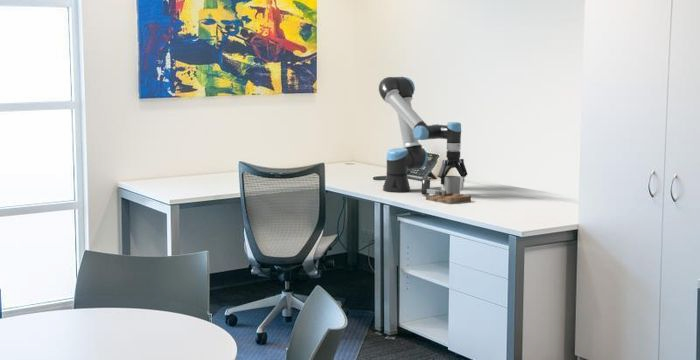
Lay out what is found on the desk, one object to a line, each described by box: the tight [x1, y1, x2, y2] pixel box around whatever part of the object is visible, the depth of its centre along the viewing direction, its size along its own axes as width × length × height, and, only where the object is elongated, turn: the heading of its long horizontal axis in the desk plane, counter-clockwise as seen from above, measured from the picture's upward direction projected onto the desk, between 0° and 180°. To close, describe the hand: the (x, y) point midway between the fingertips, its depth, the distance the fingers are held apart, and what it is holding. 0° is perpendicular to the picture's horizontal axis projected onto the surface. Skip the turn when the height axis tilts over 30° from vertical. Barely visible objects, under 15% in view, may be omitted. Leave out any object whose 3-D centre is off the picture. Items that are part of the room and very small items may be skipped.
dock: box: [425, 189, 472, 205], centre depth 469 cm, size 17×16×4 cm
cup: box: [445, 175, 461, 194], centre depth 489 cm, size 8×8×10 cm
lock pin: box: [421, 178, 445, 196], centre depth 480 cm, size 16×4×8 cm, turn 38°
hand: (452, 189), depth 489 cm, fingers open, 13 cm apart
